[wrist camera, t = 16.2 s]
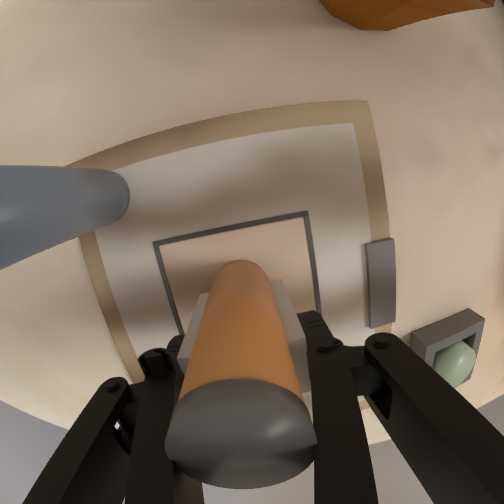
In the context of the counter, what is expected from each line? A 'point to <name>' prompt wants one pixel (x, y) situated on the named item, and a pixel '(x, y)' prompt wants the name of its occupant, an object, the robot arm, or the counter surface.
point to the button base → (448, 335)
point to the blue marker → (55, 206)
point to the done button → (454, 362)
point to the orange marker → (241, 391)
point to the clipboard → (247, 222)
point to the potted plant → (396, 11)
